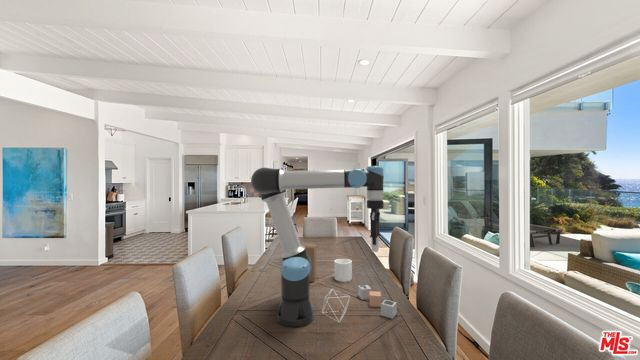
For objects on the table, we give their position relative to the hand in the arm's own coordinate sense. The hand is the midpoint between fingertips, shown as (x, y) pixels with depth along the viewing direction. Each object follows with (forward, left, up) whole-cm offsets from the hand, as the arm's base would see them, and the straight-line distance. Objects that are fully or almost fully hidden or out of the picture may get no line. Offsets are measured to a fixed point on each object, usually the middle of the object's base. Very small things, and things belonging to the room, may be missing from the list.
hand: (375, 250), depth 127 cm
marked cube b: (+6, +6, -25) cm, 26 cm away
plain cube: (0, 0, -25) cm, 25 cm away
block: (+19, +42, -25) cm, 52 cm away
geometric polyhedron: (-16, +14, -25) cm, 33 cm away
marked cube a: (-8, -7, -25) cm, 27 cm away
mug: (+28, +23, -25) cm, 44 cm away
